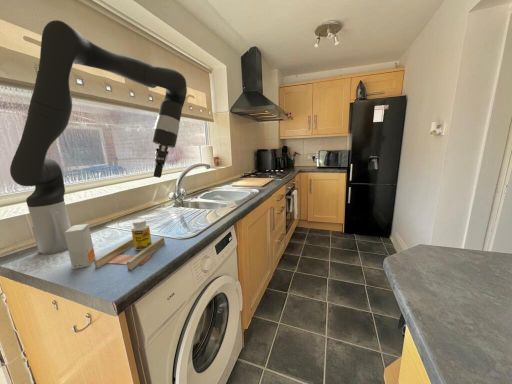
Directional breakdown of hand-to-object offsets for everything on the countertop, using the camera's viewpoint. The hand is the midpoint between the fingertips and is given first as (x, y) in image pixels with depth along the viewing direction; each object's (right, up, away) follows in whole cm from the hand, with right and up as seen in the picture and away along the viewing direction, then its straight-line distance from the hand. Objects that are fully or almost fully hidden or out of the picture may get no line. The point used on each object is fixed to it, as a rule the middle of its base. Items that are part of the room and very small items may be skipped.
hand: (156, 177), depth 72 cm
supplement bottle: (-6, -25, +3) cm, 26 cm away
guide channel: (-7, -26, -2) cm, 27 cm away
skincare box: (-20, -28, -6) cm, 35 cm away
